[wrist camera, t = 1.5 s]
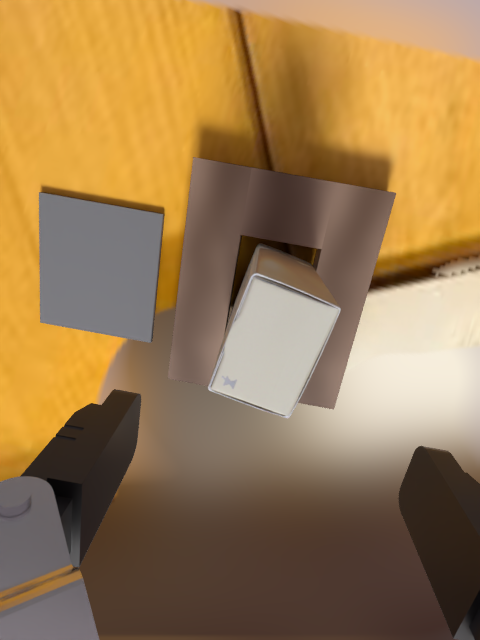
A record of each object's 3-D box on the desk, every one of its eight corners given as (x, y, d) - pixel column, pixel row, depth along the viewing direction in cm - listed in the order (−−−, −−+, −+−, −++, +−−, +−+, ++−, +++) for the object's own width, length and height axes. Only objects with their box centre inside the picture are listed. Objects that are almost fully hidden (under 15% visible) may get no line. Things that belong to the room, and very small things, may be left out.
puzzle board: (386, 192, 26) (396, 192, 24) (329, 396, 31) (333, 409, 29) (198, 159, 26) (193, 157, 24) (174, 367, 31) (167, 378, 30)
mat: (164, 214, 27) (163, 214, 27) (152, 340, 31) (150, 342, 30) (42, 192, 28) (38, 192, 27) (43, 320, 31) (40, 322, 30)
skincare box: (280, 335, 30) (288, 427, 18) (228, 315, 30) (202, 396, 18) (314, 258, 28) (347, 308, 16) (258, 237, 28) (251, 271, 16)
